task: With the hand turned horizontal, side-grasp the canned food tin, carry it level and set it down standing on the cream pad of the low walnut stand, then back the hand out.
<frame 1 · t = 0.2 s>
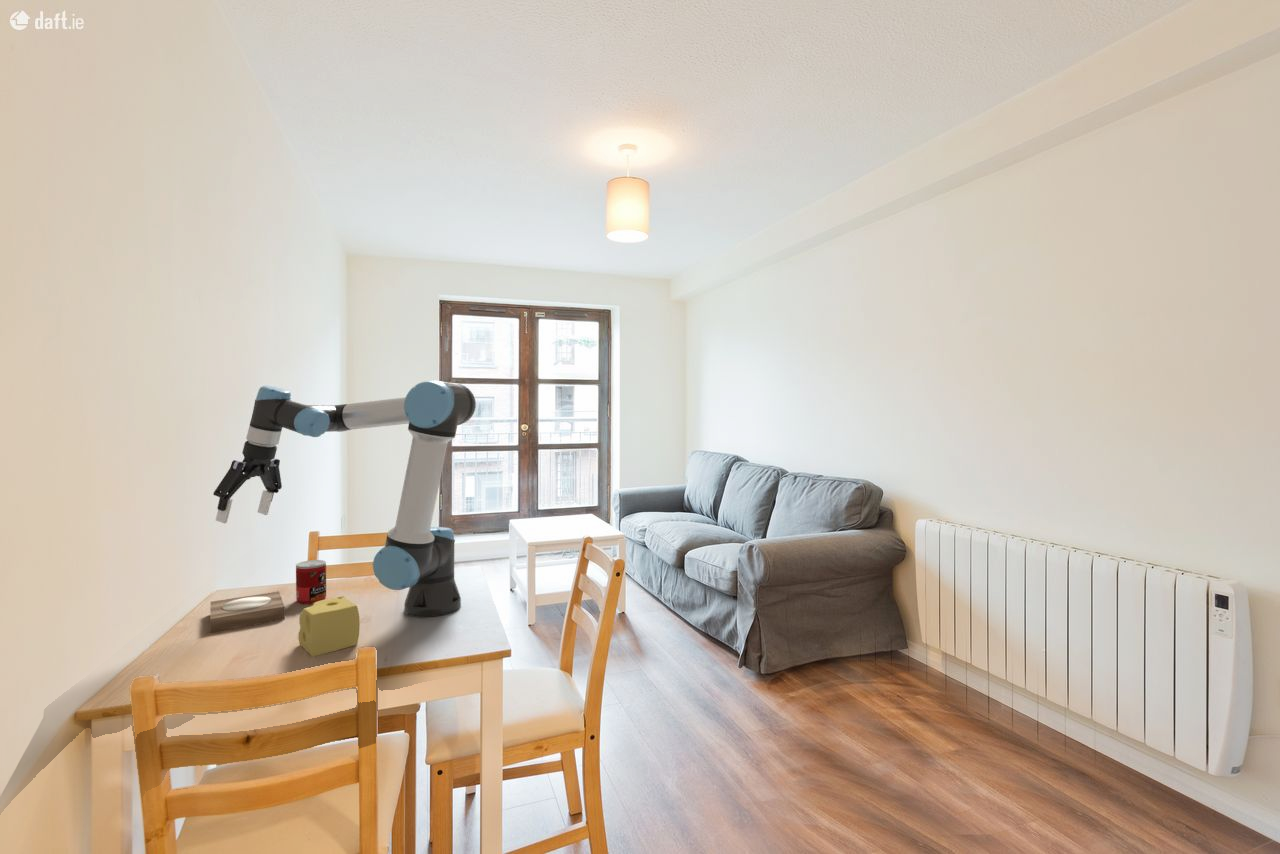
hand: (242, 517, 158), 27 cm above the table, tool tilted 15°, fingers open, 13 cm apart
cheese: (329, 646, 139), on the table
stand: (247, 616, 158), on the table
canned food: (311, 600, 172), on the table
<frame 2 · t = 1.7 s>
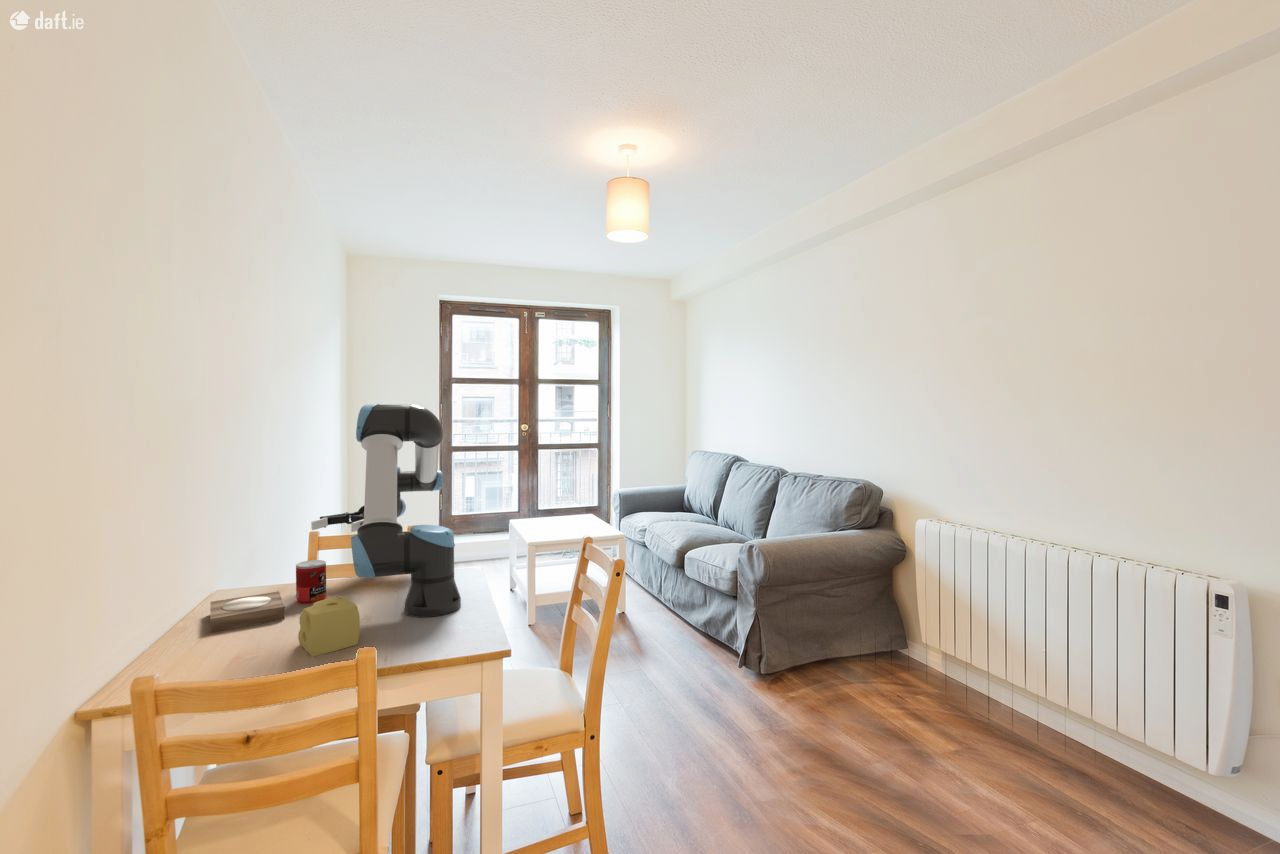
hand: (332, 526, 181), 20 cm above the table, tool horizontal, fingers open, 13 cm apart
nothing on the table moved.
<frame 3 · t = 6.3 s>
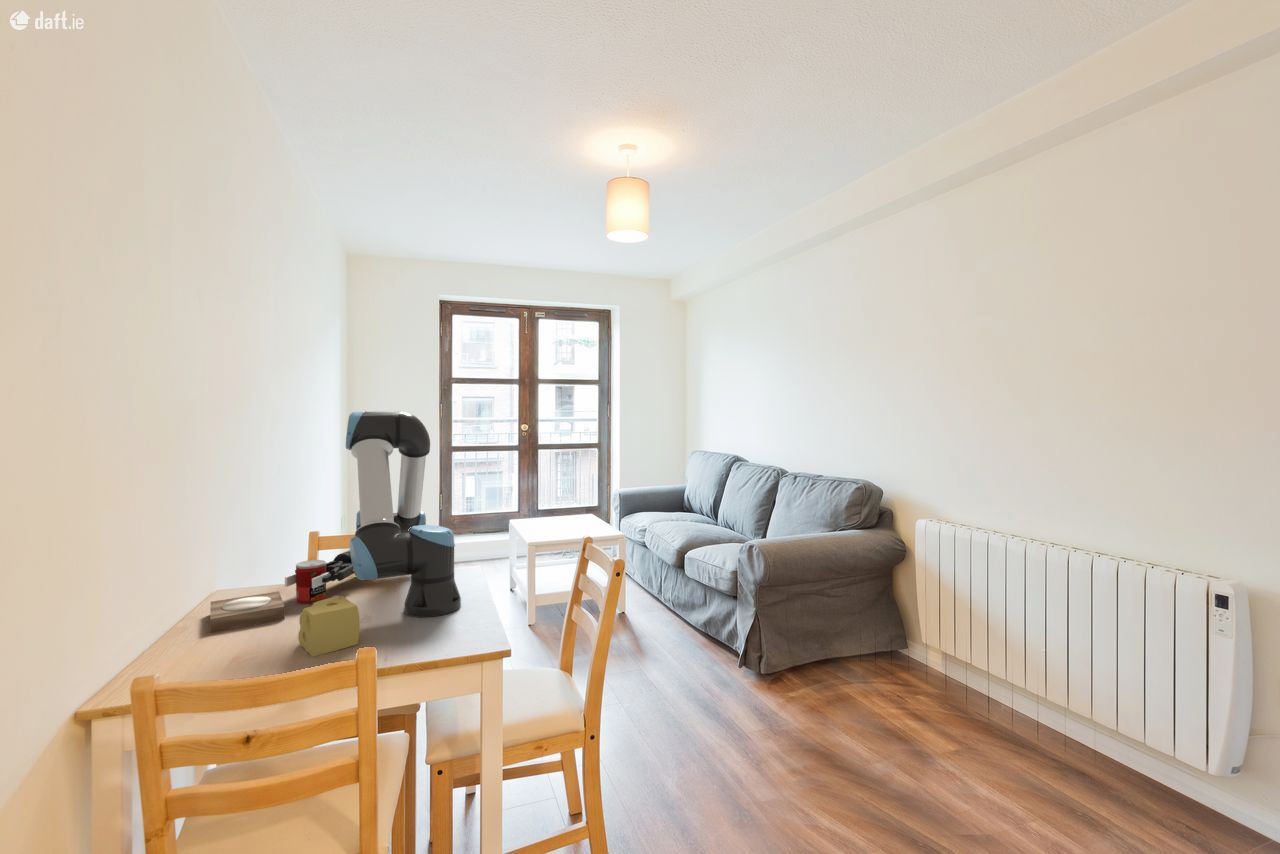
hand: (299, 582, 167), 7 cm above the table, tool horizontal, fingers closed on canned food, 8 cm apart
canned food: (311, 600, 172), on the table, touching gripper
everything else where it was.
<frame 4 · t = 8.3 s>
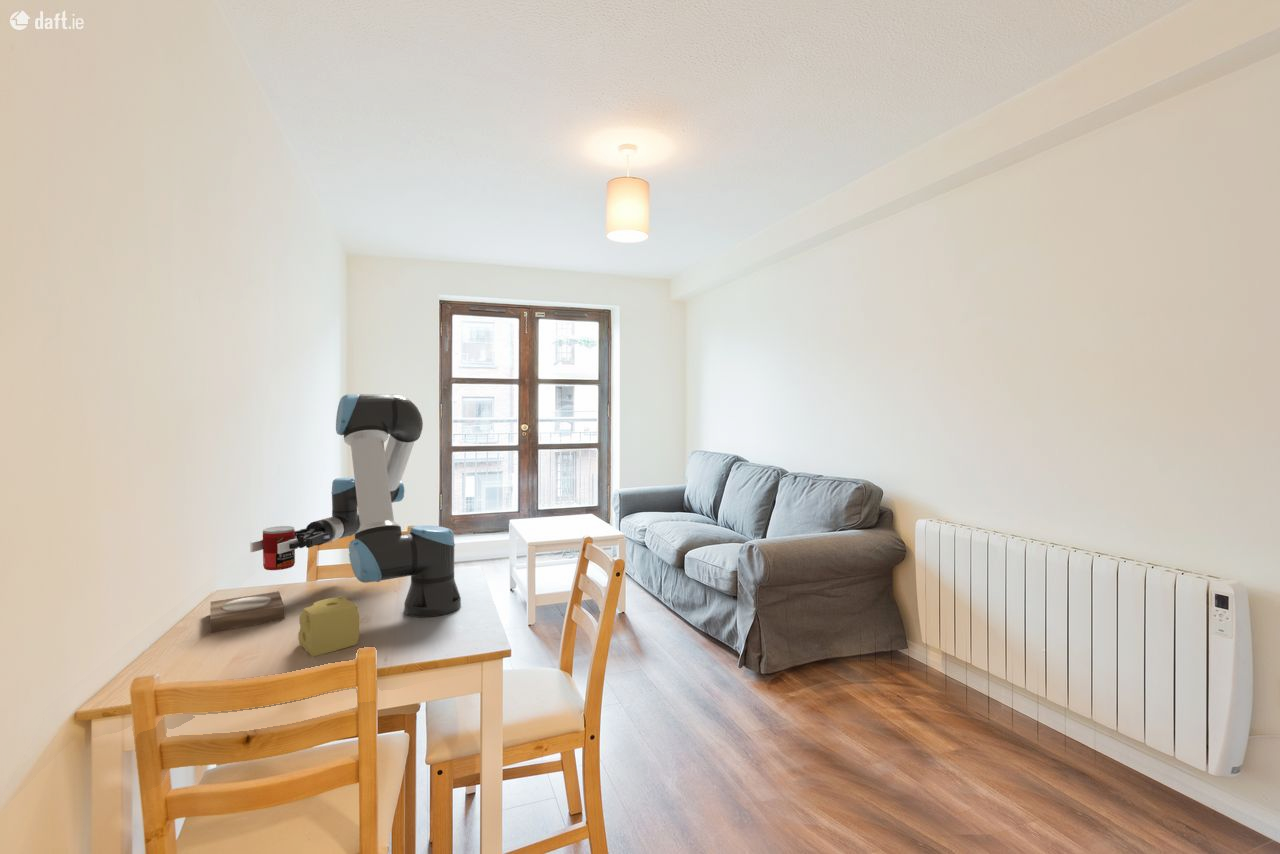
hand: (265, 548, 161), 18 cm above the table, tool horizontal, fingers closed on canned food, 8 cm apart
canned food: (279, 567, 166), point 11 cm above the table, touching gripper
everything else where it was.
when the fingers open (11 cm above the table, at t = 10.5 s): canned food drops 1 cm, resting on stand.
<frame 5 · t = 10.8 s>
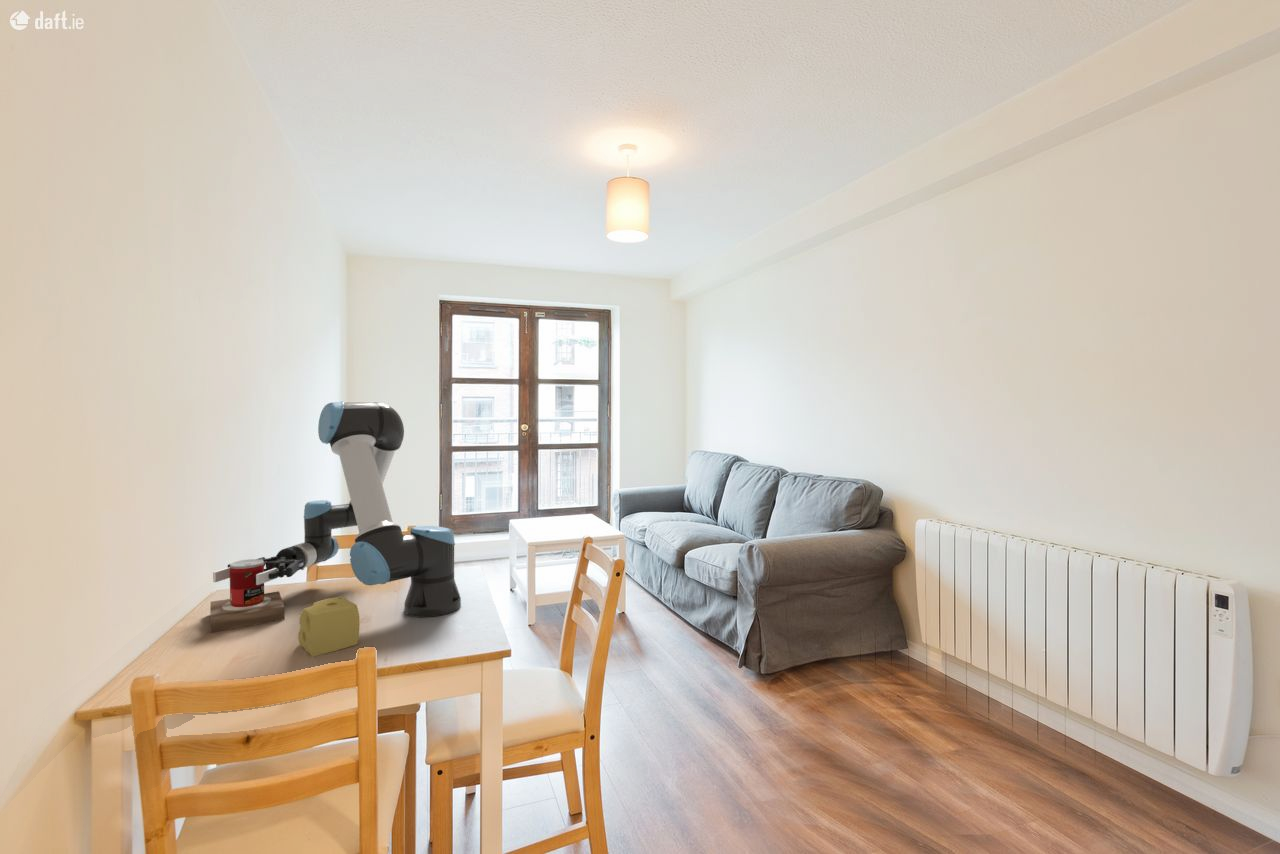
hand: (235, 578, 154), 11 cm above the table, tool horizontal, fingers open, 12 cm apart
canned food: (247, 603, 158), point 4 cm above the table, touching stand
everything else where it was.
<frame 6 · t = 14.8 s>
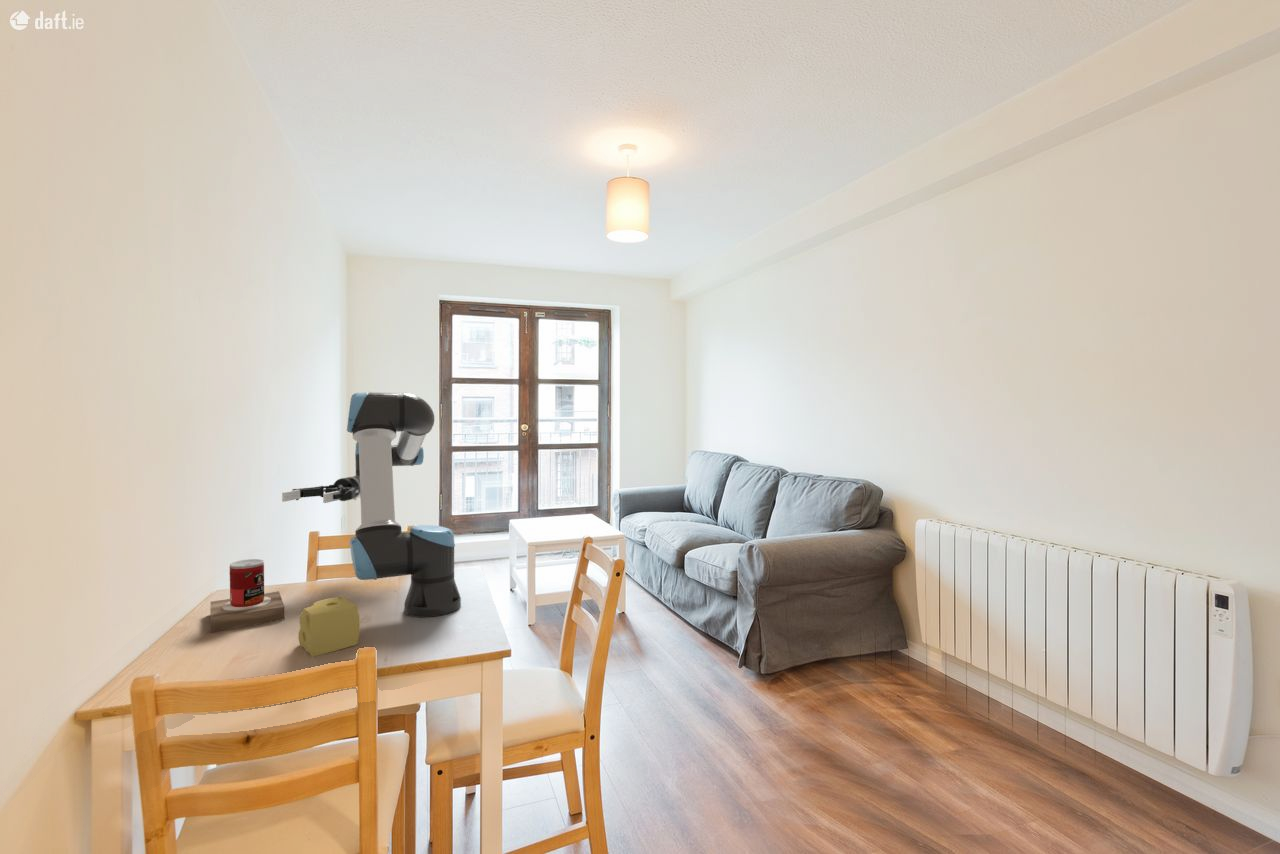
hand: (303, 497, 173), 30 cm above the table, tool horizontal, fingers open, 13 cm apart
nothing on the table moved.
at the end: canned food inside the target area on the stand (0.1 cm from its centre), point 3.6 cm above the stand's base; canned food tilted 0°; the gripper is holding nothing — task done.
